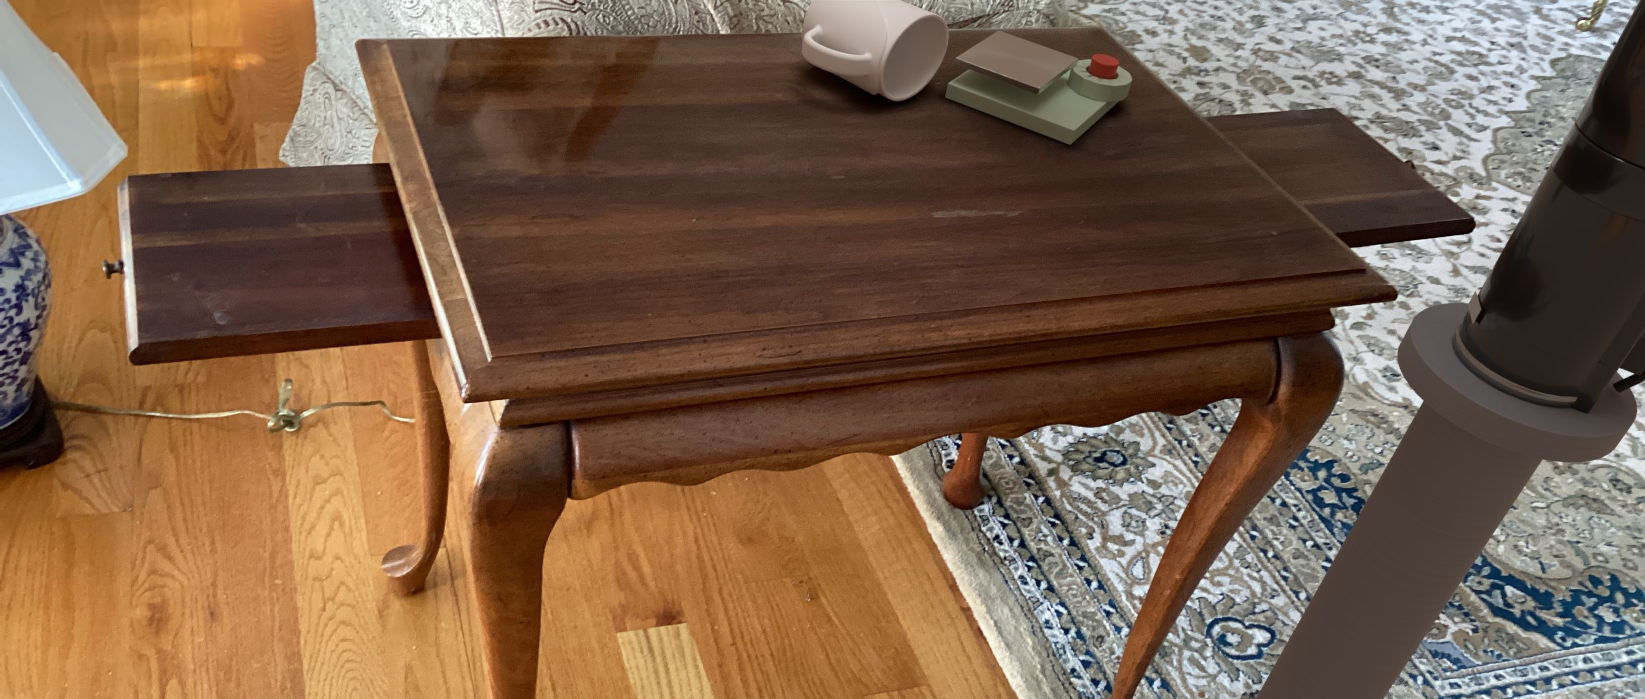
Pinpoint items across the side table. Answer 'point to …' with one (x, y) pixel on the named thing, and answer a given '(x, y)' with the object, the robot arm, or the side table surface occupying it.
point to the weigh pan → (1017, 62)
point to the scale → (1045, 100)
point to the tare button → (1103, 66)
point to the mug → (875, 44)
